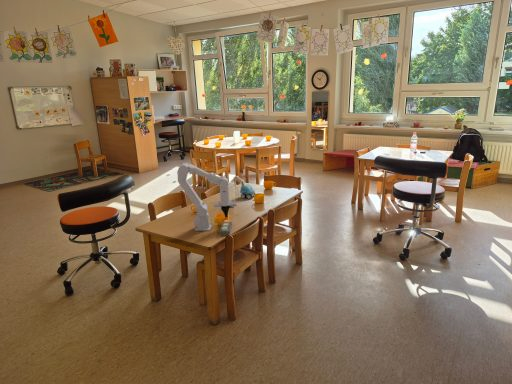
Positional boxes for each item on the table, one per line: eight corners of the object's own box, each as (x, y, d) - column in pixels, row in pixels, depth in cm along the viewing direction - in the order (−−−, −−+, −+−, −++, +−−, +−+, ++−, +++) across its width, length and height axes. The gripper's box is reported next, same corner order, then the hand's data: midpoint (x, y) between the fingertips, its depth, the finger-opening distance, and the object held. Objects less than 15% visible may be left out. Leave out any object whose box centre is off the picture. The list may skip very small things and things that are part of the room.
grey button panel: (219, 235, 211) (219, 231, 210) (222, 225, 225) (222, 221, 225) (229, 235, 210) (229, 231, 210) (232, 225, 225) (231, 221, 224)
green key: (222, 232, 211) (221, 228, 210) (222, 230, 214) (222, 226, 213) (227, 232, 211) (226, 228, 210) (227, 230, 213) (227, 226, 213)
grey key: (223, 228, 216) (223, 225, 215) (223, 226, 219) (223, 223, 218) (228, 228, 216) (227, 225, 215) (228, 226, 219) (228, 223, 218)
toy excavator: (238, 194, 288) (237, 174, 283) (256, 196, 281) (255, 175, 275) (233, 197, 280) (231, 177, 275) (251, 199, 273) (250, 178, 268)
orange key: (224, 225, 221) (224, 221, 221) (224, 223, 224) (224, 220, 223) (229, 225, 221) (228, 221, 220) (229, 223, 224) (229, 219, 223)
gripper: (236, 194, 221) (238, 214, 225) (214, 195, 221) (216, 215, 225) (235, 197, 214) (237, 218, 218) (212, 198, 215) (214, 219, 219)
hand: (226, 216), depth 221 cm, fingers closed
